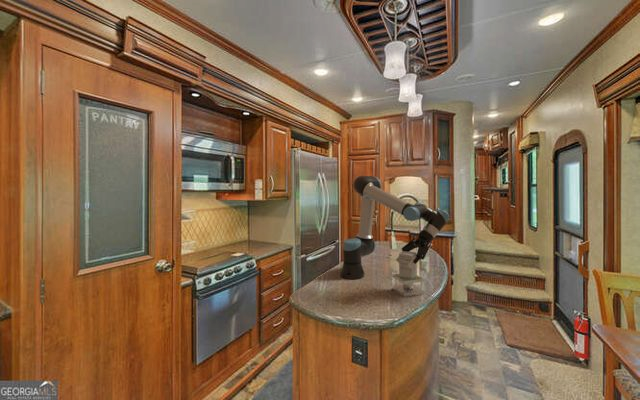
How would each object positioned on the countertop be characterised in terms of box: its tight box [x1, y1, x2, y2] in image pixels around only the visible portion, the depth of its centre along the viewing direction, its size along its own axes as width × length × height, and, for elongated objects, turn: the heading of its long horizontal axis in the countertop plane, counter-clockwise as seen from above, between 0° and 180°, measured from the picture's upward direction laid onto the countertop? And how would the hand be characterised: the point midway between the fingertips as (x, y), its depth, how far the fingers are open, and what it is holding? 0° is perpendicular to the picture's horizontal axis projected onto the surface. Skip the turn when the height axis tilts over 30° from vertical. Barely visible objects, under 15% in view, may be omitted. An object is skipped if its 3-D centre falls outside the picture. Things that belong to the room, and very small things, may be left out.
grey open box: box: [391, 273, 425, 298], centre depth 146 cm, size 12×12×8 cm
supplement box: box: [398, 251, 418, 279], centre depth 146 cm, size 7×7×13 cm
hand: (403, 264), depth 145 cm, fingers open, 11 cm apart
